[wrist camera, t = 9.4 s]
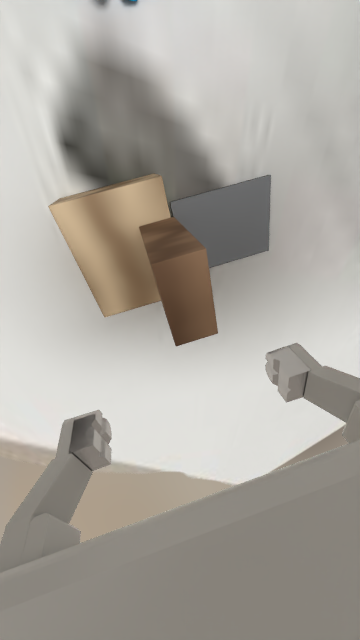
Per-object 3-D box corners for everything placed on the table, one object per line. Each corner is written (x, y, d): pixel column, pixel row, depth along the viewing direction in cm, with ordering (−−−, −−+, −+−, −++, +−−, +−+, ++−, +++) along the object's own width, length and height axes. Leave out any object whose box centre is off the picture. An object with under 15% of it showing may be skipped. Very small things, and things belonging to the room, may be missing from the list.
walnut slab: (173, 216, 22) (206, 248, 14) (187, 280, 26) (217, 333, 18) (138, 226, 22) (151, 264, 14) (157, 289, 26) (175, 346, 18)
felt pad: (268, 174, 27) (270, 175, 26) (267, 249, 32) (268, 250, 32) (169, 202, 26) (170, 202, 26) (184, 273, 31) (185, 274, 31)
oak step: (154, 173, 24) (161, 176, 20) (177, 275, 31) (186, 292, 27) (60, 198, 23) (48, 206, 19) (106, 296, 31) (104, 317, 27)
